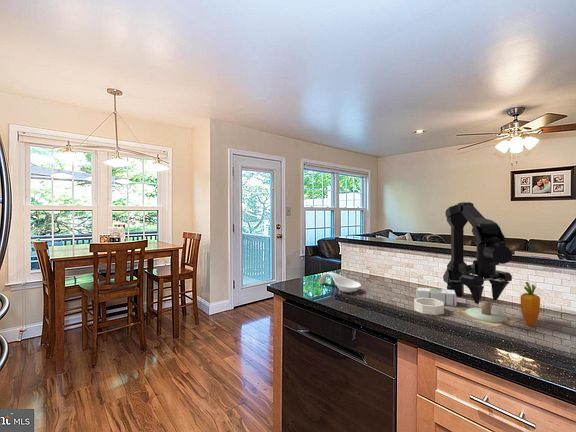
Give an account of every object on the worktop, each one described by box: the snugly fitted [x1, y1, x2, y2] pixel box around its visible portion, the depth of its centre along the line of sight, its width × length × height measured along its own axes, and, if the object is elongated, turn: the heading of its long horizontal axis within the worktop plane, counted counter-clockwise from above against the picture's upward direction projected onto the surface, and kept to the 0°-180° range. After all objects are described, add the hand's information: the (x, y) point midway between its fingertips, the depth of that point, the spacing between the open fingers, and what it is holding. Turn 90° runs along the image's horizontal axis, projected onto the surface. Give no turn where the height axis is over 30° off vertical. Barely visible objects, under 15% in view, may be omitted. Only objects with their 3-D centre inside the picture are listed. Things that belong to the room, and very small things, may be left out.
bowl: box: [413, 297, 445, 316], centre depth 111 cm, size 10×10×4 cm
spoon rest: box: [318, 271, 362, 294], centre depth 146 cm, size 24×12×7 cm, turn 41°
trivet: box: [454, 306, 521, 328], centre depth 104 cm, size 14×14×1 cm
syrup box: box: [415, 286, 458, 307], centre depth 120 cm, size 6×6×14 cm
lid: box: [466, 300, 508, 323], centre depth 104 cm, size 12×12×5 cm
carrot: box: [520, 281, 541, 328], centre depth 95 cm, size 5×5×15 cm
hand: (485, 301), depth 104 cm, fingers open, 9 cm apart
